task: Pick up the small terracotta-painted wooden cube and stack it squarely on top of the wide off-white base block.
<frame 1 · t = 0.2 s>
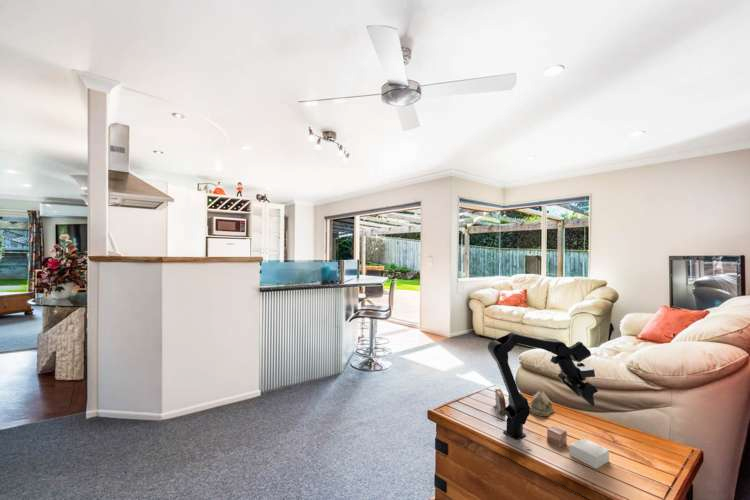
hand: (586, 400, 136), 14 cm above the table, tool tilted 30°, fingers open, 9 cm apart
terracotta cube: (556, 442, 130), on the table
ceramic model: (540, 411, 158), on the table
base block: (589, 458, 120), on the table
mottled stone slab: (500, 410, 158), on the table
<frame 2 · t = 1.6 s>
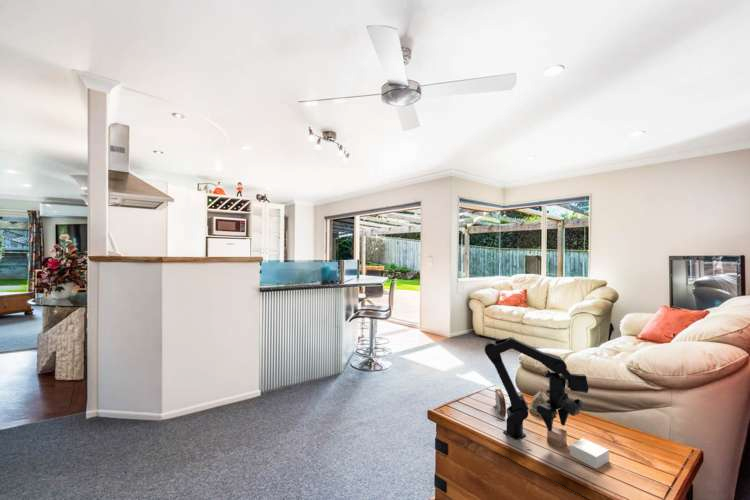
hand: (556, 428, 130), 5 cm above the table, tool pointing down, fingers open, 9 cm apart
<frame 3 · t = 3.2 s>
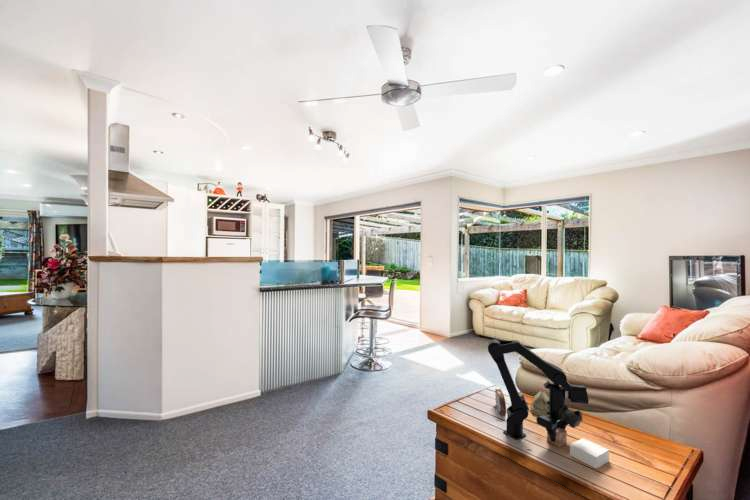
hand: (556, 439, 130), 1 cm above the table, tool pointing down, fingers closed on terracotta cube, 5 cm apart
terracotta cube: (556, 442, 130), on the table, touching gripper
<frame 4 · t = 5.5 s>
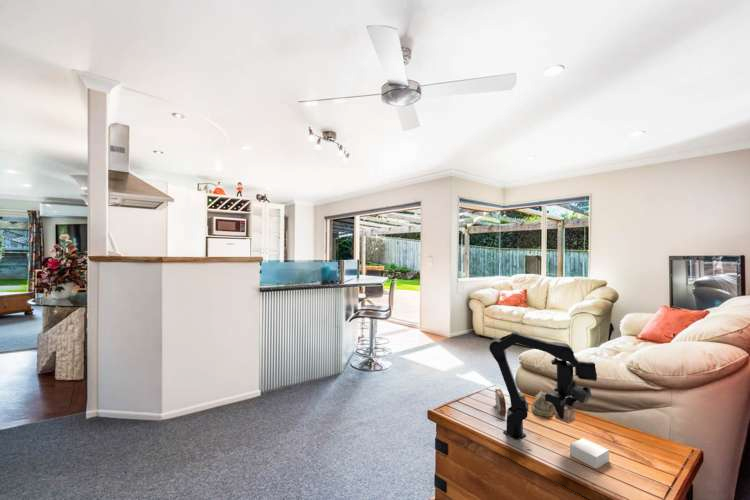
hand: (565, 416, 128), 11 cm above the table, tool pointing down, fingers closed on terracotta cube, 5 cm apart
terracotta cube: (565, 419, 128), point 10 cm above the table, touching gripper
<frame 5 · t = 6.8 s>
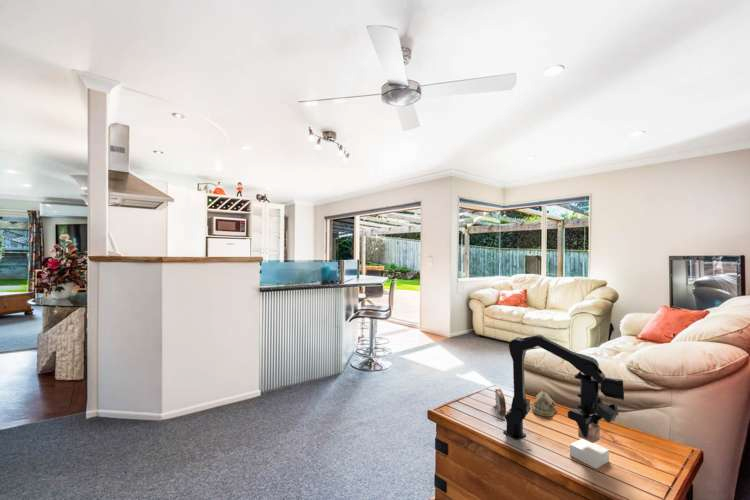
hand: (589, 435, 120), 8 cm above the table, tool pointing down, fingers closed on terracotta cube, 5 cm apart
terracotta cube: (589, 438, 120), point 7 cm above the table, touching gripper
when the fingers open (6 cm above the table, at t = 8.0 s): terracotta cube drops 1 cm, resting on base block.
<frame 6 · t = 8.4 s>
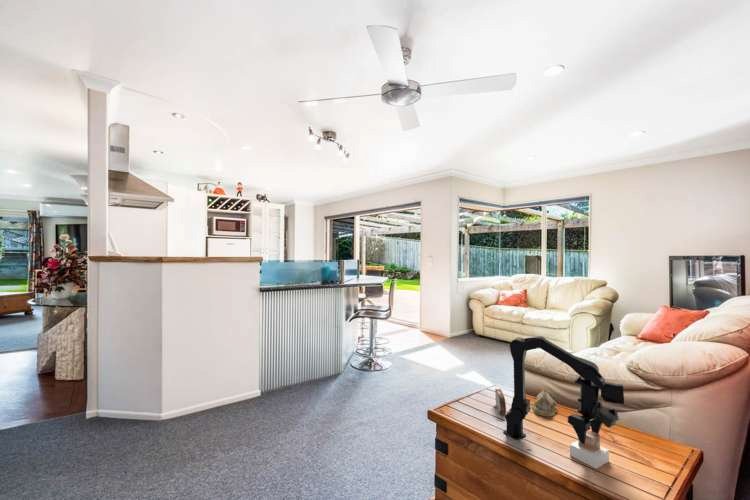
hand: (589, 440, 120), 6 cm above the table, tool pointing down, fingers open, 9 cm apart
terracotta cube: (589, 447, 120), point 4 cm above the table, touching base block
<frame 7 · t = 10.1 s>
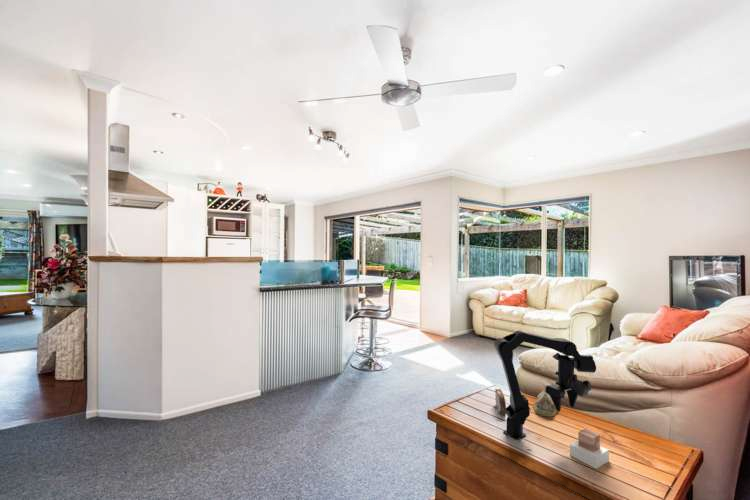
hand: (565, 409, 133), 12 cm above the table, tool pointing down, fingers open, 9 cm apart
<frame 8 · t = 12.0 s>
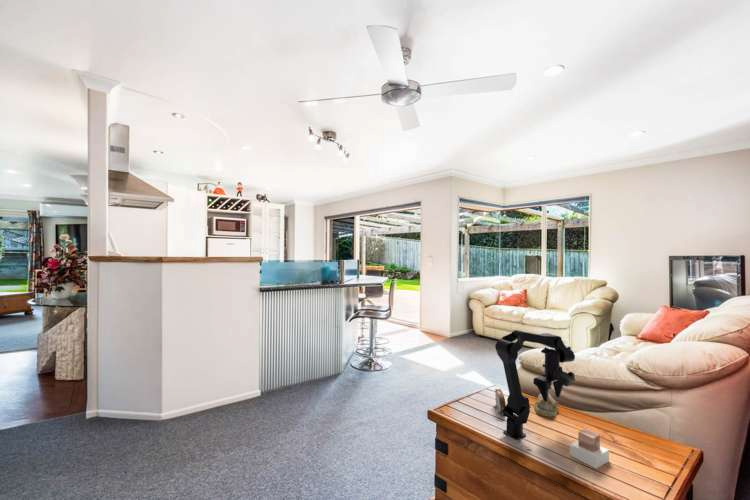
hand: (551, 399, 142), 12 cm above the table, tool pointing down, fingers open, 9 cm apart
at the end: terracotta cube 0.0 cm off-centre on the base block, point 4.0 cm above the base block's base; terracotta cube touching base block; terracotta cube tilted 0° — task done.
